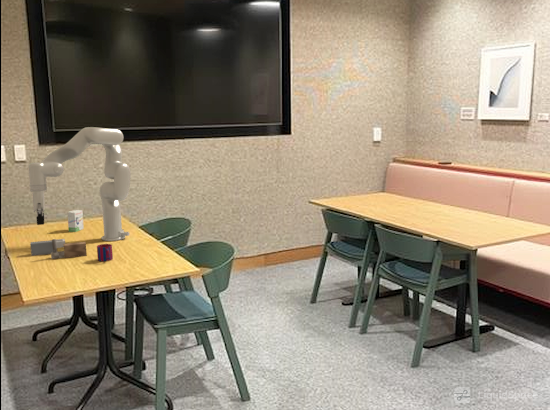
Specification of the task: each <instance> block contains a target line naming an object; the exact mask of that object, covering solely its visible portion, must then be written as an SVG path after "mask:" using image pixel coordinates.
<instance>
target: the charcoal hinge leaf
mask: <svg viewBox="0 0 550 410" xmlns="http://www.w3.org/2000/svg"><path fill="white" fill-rule="evenodd" d="M63 244H66V238H59V239H56V245H57V249H60V248H64V245H63ZM29 245H30V254H31V257H32V256H43V255H51V252H53V246H52V239H51V240H50V239H49V240H39V241H31V242H30V244H29Z"/></svg>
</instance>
